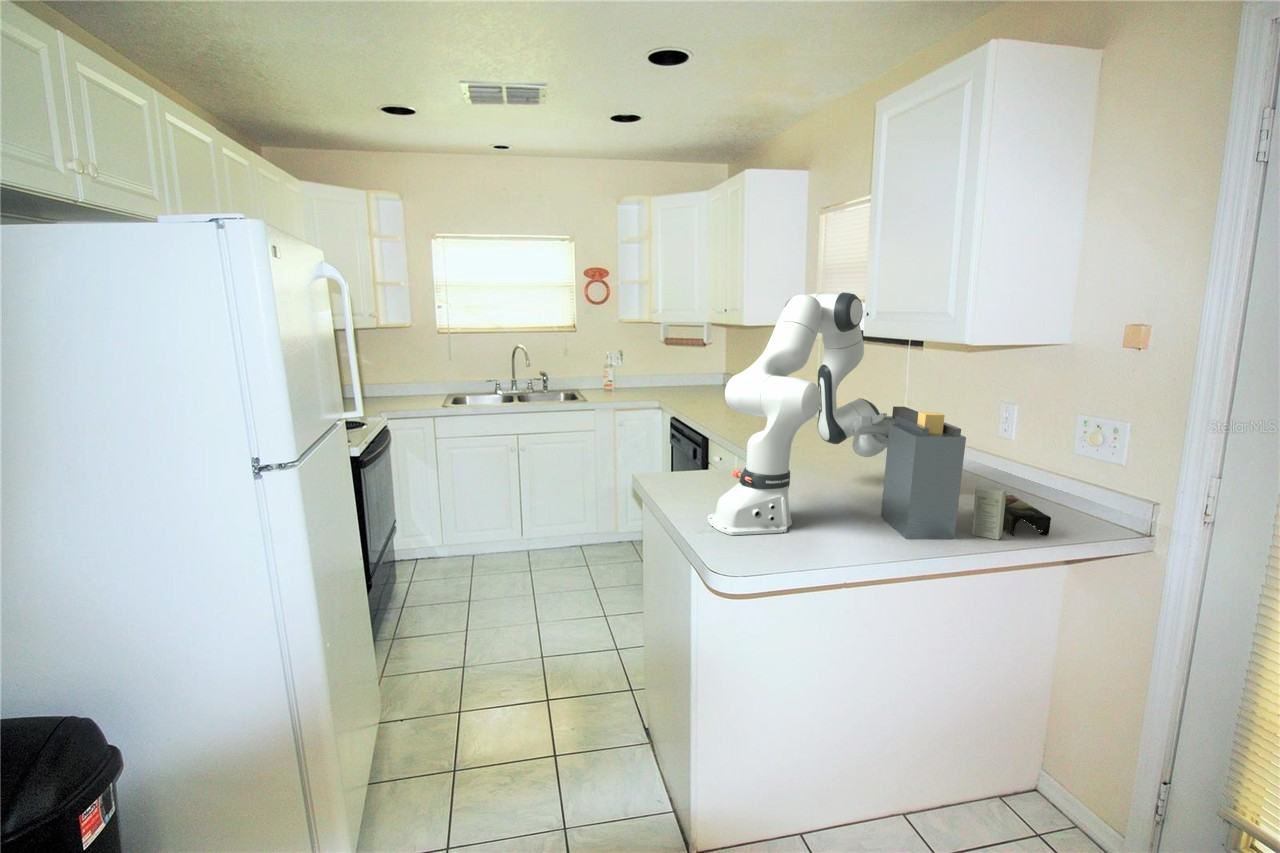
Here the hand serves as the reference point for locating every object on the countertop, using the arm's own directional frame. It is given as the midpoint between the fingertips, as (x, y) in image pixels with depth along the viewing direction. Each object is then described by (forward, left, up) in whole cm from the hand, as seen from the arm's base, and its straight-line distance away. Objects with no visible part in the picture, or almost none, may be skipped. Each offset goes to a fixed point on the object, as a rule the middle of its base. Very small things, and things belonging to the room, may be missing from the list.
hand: (901, 415), depth 168 cm
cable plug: (-2, -7, -1) cm, 7 cm away
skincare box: (+8, -24, -27) cm, 37 cm away
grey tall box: (-5, -14, -27) cm, 31 cm away
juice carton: (+22, -19, -28) cm, 40 cm away
